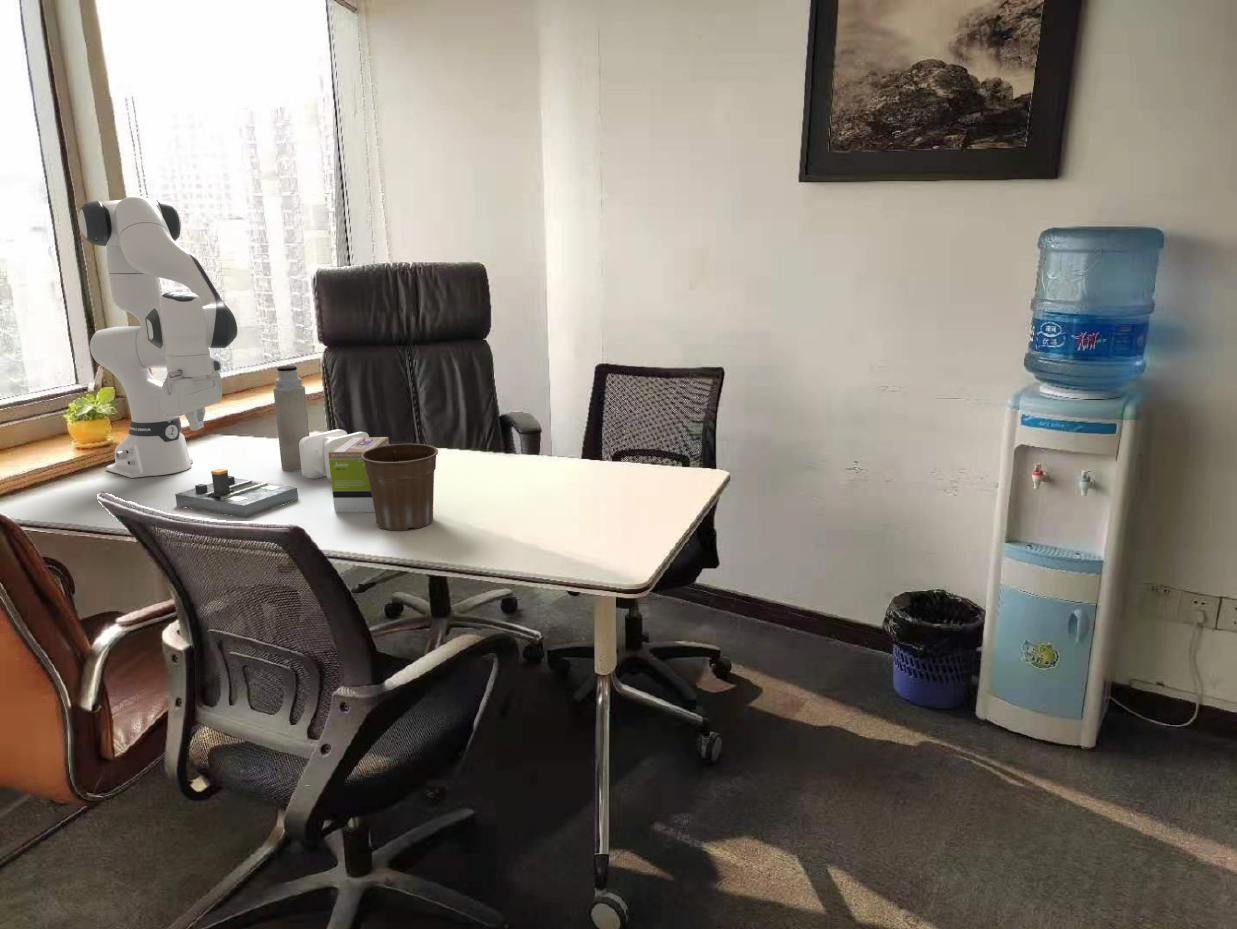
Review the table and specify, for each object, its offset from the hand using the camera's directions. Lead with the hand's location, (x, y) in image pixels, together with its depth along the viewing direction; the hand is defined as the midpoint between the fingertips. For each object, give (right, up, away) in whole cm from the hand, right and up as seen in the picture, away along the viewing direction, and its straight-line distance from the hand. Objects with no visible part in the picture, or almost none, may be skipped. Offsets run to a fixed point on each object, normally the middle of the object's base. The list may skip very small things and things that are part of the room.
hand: (197, 429), depth 190 cm
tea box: (+34, -17, +12) cm, 40 cm away
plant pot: (+47, -21, -2) cm, 51 cm away
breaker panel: (+3, -17, +13) cm, 22 cm away
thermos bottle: (+5, -9, +45) cm, 46 cm away
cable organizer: (+20, -11, +36) cm, 42 cm away
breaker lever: (+2, -15, +9) cm, 17 cm away
